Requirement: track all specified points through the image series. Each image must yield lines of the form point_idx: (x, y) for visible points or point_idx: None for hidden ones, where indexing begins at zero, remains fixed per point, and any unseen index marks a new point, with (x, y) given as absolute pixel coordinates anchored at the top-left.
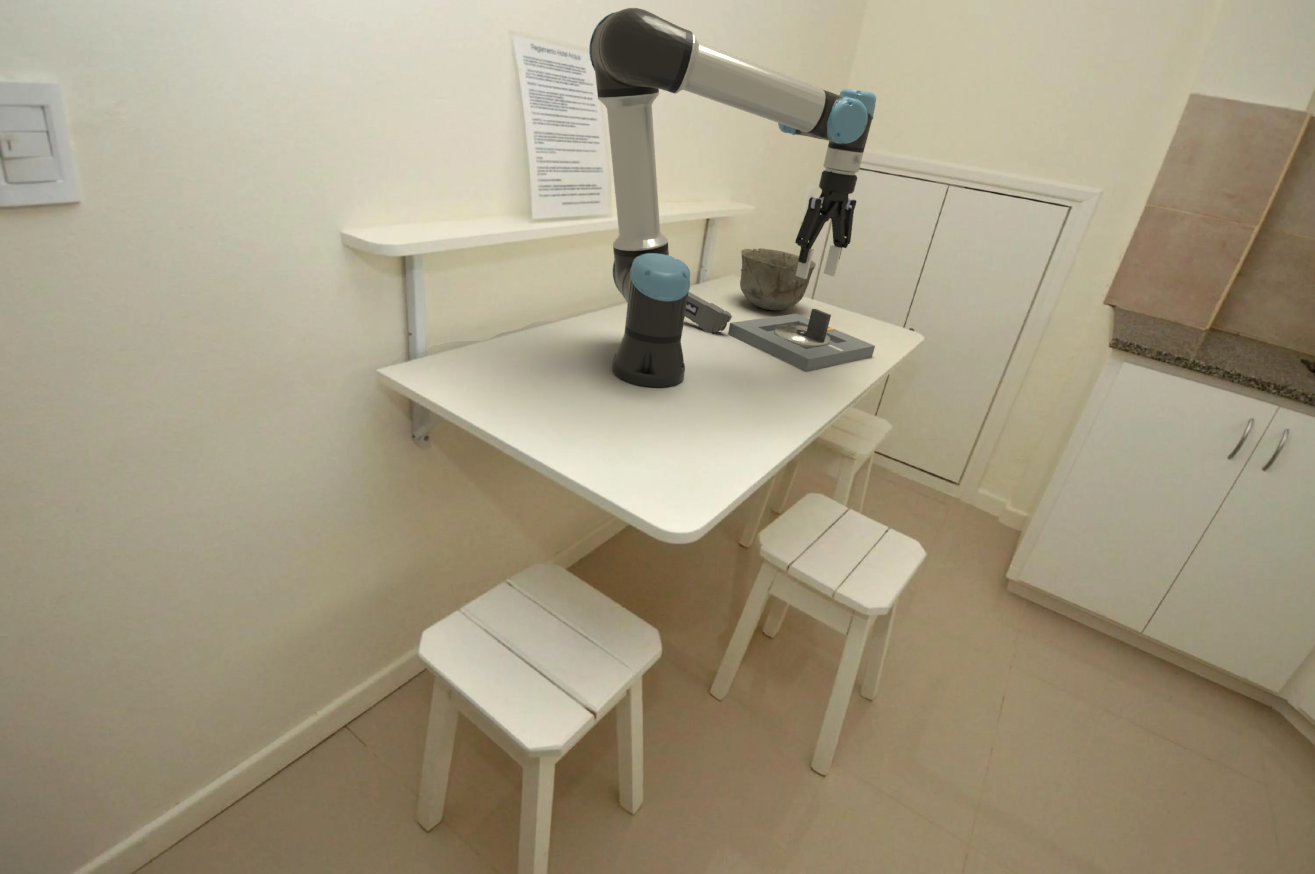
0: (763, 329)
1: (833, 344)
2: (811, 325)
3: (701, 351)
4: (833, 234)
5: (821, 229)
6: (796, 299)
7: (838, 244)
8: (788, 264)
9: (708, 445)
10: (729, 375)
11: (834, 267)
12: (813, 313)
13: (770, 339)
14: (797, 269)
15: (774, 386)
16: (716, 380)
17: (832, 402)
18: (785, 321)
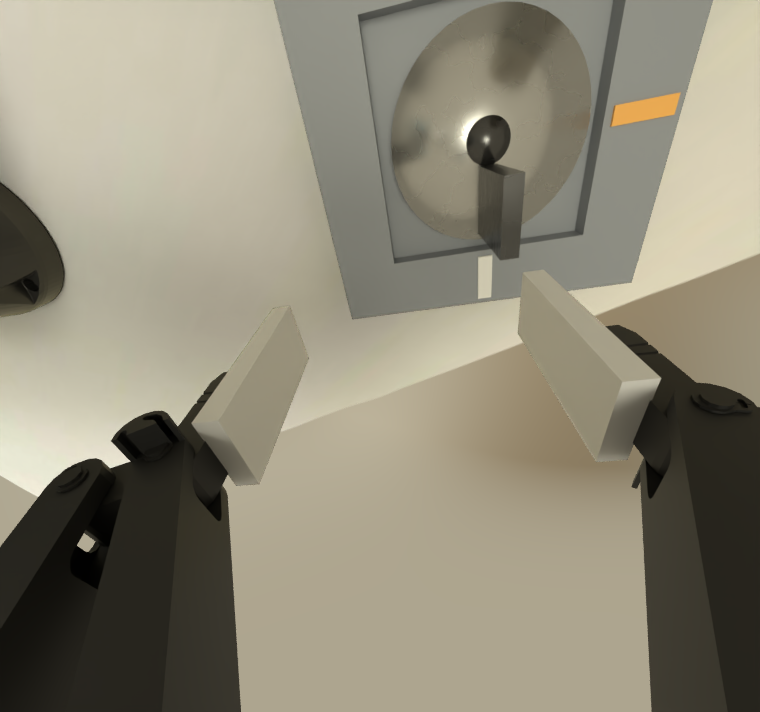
0: (395, 9)
1: None
2: (487, 186)
3: (124, 125)
4: (683, 507)
5: (238, 684)
6: None
7: (654, 448)
8: None
9: (94, 440)
10: (169, 285)
11: (535, 359)
12: (499, 188)
13: (330, 171)
14: (262, 327)
15: (246, 344)
16: (135, 300)
17: (318, 406)
18: None
